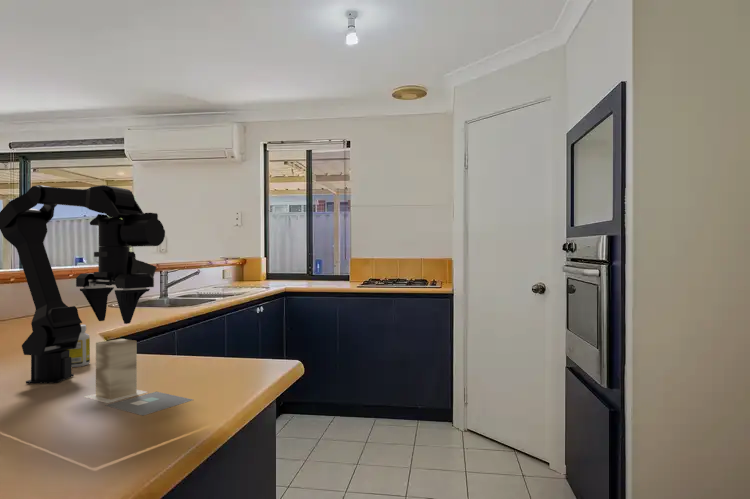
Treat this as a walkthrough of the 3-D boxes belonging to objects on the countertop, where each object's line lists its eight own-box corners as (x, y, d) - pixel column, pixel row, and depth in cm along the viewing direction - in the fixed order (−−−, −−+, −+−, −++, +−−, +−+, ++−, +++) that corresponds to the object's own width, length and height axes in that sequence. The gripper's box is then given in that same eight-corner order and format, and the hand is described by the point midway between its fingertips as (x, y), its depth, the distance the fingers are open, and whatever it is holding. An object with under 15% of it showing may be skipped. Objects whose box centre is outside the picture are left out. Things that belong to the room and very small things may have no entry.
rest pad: (83, 398, 89) (83, 396, 90) (124, 388, 96) (124, 386, 96) (107, 404, 85) (107, 403, 85) (148, 393, 92) (148, 392, 92)
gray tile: (104, 407, 84) (104, 405, 84) (156, 393, 93) (156, 391, 93) (142, 417, 78) (142, 415, 78) (194, 401, 87) (194, 399, 87)
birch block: (95, 395, 90) (95, 342, 90) (121, 389, 94) (121, 338, 94) (110, 399, 87) (110, 344, 88) (136, 392, 92) (136, 340, 92)
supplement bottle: (80, 362, 122) (81, 323, 122) (94, 364, 119) (94, 324, 120) (59, 366, 117) (59, 326, 117) (72, 368, 114) (72, 327, 115)
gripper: (176, 246, 101) (176, 320, 101) (125, 248, 111) (125, 315, 111) (126, 245, 92) (126, 327, 92) (74, 247, 101) (74, 321, 101)
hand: (114, 322), depth 99 cm, fingers open, 9 cm apart
